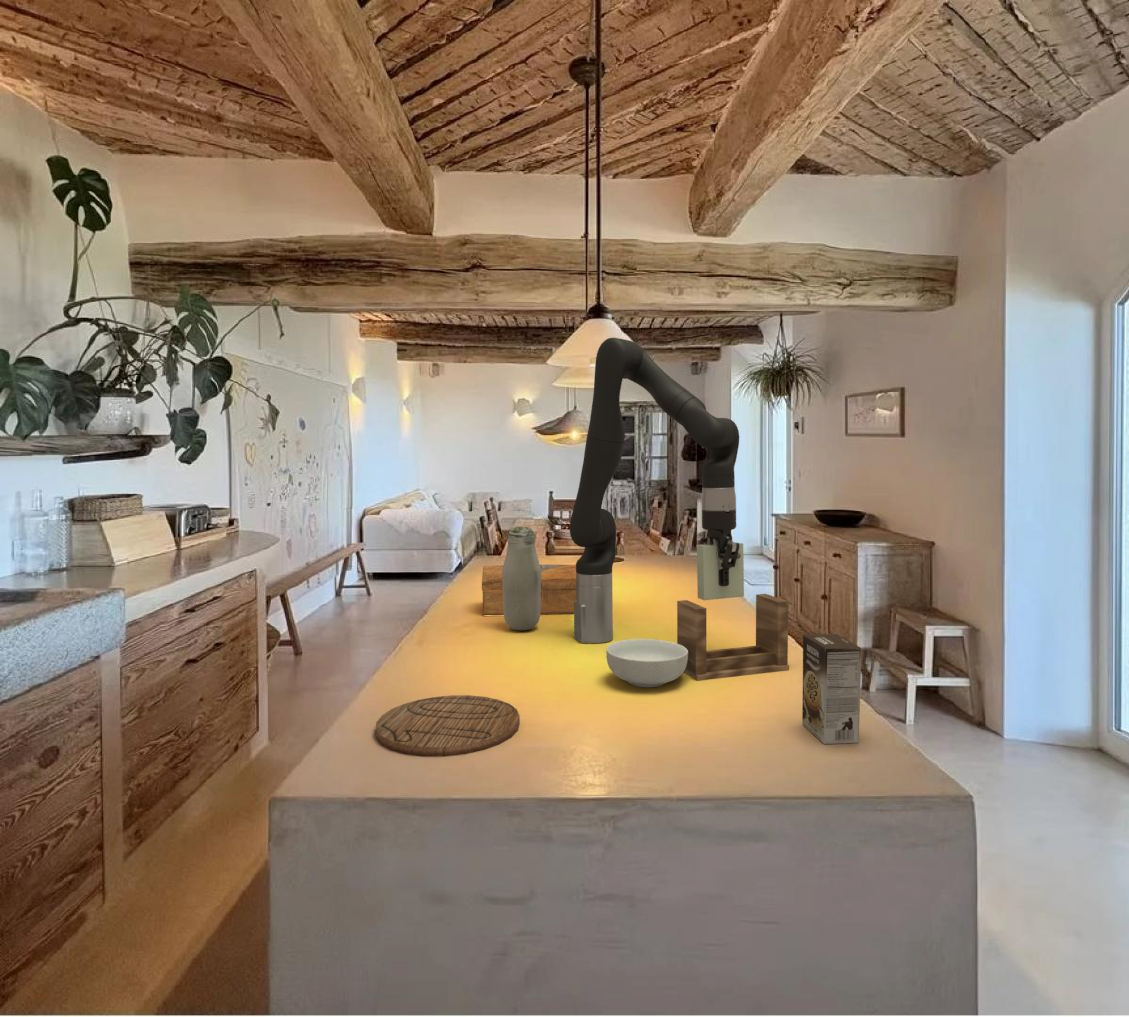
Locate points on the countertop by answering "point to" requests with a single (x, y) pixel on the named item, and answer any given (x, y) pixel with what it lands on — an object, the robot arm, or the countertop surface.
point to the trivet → (447, 725)
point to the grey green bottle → (521, 580)
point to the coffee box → (831, 688)
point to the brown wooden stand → (739, 660)
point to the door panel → (710, 574)
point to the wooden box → (554, 589)
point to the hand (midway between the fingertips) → (719, 584)
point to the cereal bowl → (647, 661)
